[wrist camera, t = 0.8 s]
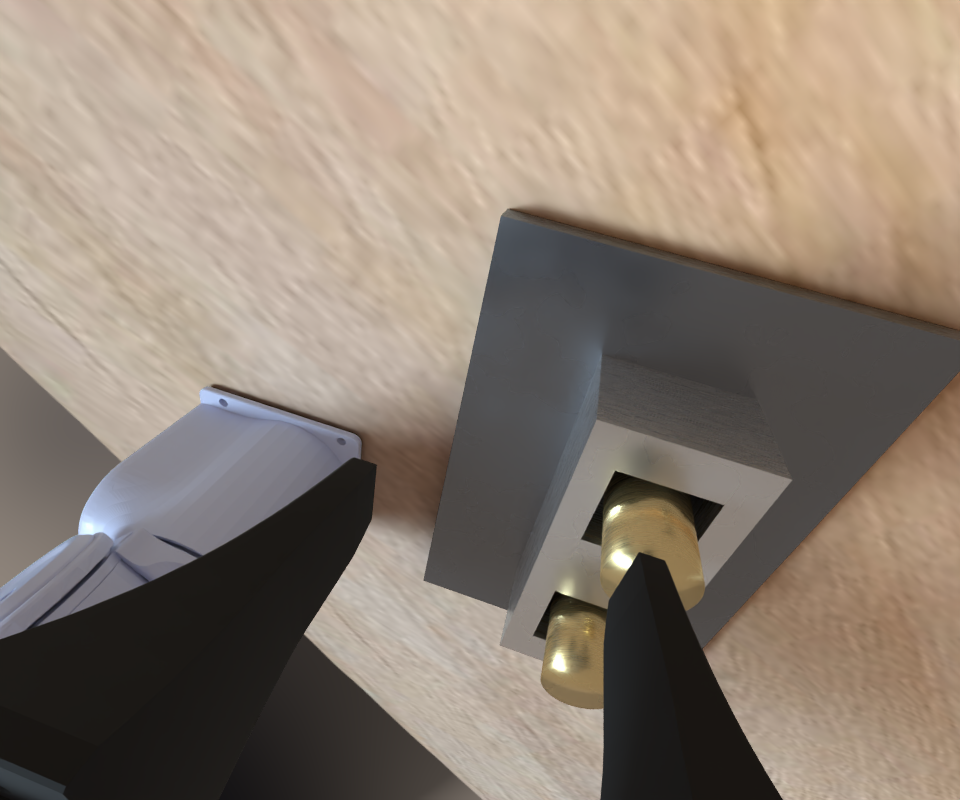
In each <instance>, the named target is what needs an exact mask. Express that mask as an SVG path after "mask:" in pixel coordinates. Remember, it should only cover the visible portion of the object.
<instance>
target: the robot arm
mask: <svg viewBox="0 0 960 800" xmlns="http://www.w3.org/2000/svg"><path fill="white" fill-rule="evenodd" d="M200 399H201V404H199V405H198V406H197V407H195V408H194V409H193V410H191V411H190V412H189V413H187V414H186V415H184V416H183V417H182V418H180V419H179V420H178V421H176V422H175V423H174V424H172V425H171V426H170V427H168V428H167V429H165V430H164V431H163V432H161V433H160V434H159V435H157V436H156V437H155V438H153V439H152V440H151V441H149V442H148V443H147V444H145V445H144V446H142V447H141V448H140V449H138V450H137V451H136V452H134V453H133V454H132V455H130V456H129V457H128V458H126V459H125V460H124V461H122V462H121V463H119V464H118V465H117V466H116V467H115V468H114V469H112V470H111V471H110V472H109V473H108V474H107V475H106V476H105V477H104V478H103V480H102V481H101V482H100V483H99V485H98V486H97V487H96V489H95V490H94V492H93V493H92V495H91V496H90V498H89V499H88V501H87V503H86V505H85V507H84V509H83V512H82V514H81V518H80V523H79V531H78V532H79V534H78V535H76V536H73V537H72V538H70V539H68V540H66V541H65V542H63V543H62V544H60V545H59V546H57V547H56V548H54V549H53V550H51V551H50V552H48V553H47V554H45V555H44V556H43V557H42V558H40V559H39V560H37V561H36V562H34V563H33V564H32V565H30V566H29V567H28V568H26V569H25V570H23V571H22V572H21V573H19V574H18V575H17V576H15V577H14V578H13V579H12V580H10V581H9V582H8V583H6V584H5V585H4V586H2V587H1V588H0V800H219V798H220V796H221V793H222V791H223V789H224V787H225V785H226V783H227V781H228V779H229V777H230V775H231V773H232V771H233V769H234V766H235V764H236V762H237V760H238V758H239V756H240V754H241V752H242V750H243V748H244V746H245V744H246V742H247V740H248V738H249V736H250V734H251V732H252V730H253V728H254V726H255V724H256V722H257V720H258V718H259V716H260V714H261V712H262V710H263V708H264V706H265V704H266V702H267V700H268V698H269V696H270V694H271V692H272V691H273V689H274V686H275V685H276V683H277V681H278V679H279V677H280V675H281V673H282V671H283V669H284V668H285V665H286V664H287V662H288V660H289V658H290V656H291V654H292V653H293V651H294V649H295V647H296V646H297V644H298V642H299V641H300V639H301V637H302V636H303V634H304V632H305V631H306V629H307V628H308V626H309V625H310V623H311V622H312V620H313V618H314V617H315V615H316V614H317V612H318V611H319V609H320V608H321V606H322V604H323V603H324V601H325V600H326V598H327V597H328V595H329V594H330V592H331V591H332V589H333V587H334V586H335V584H336V583H337V581H338V580H339V578H340V576H341V575H342V573H343V572H344V570H345V569H346V567H347V565H348V564H349V562H350V561H351V559H352V557H353V556H354V554H355V552H356V550H357V548H358V546H359V544H360V542H361V540H362V538H363V536H364V534H365V532H366V530H367V528H368V526H369V523H370V521H371V519H372V509H373V499H374V488H375V477H376V466H377V465H376V464H373V463H370V462H367V461H364V460H361V446H362V443H361V439H360V438H359V437H358V436H357V435H355V434H353V433H350V432H347V431H344V430H341V429H338V428H335V427H332V426H329V425H326V424H323V423H319V422H316V421H313V420H310V419H307V418H304V417H301V416H298V415H295V414H292V413H289V412H286V411H283V410H280V409H277V408H274V407H271V406H267V405H264V404H261V403H258V402H255V401H252V400H249V399H246V398H243V397H240V396H237V395H234V394H231V393H228V392H225V391H222V390H219V389H216V388H212V387H208V386H207V387H204V388H203V389H201V391H200ZM341 438H343V439H344V440H345V441H344V440H342V439H341ZM603 702H604V753H603V776H602V788H601V799H600V800H783V799H782V798H781V796H780V794H779V793H778V791H777V789H776V788H775V786H774V785H773V783H772V781H771V780H770V778H769V776H768V775H767V773H766V771H765V770H764V768H763V766H762V764H761V763H760V761H759V759H758V757H757V756H756V754H755V752H754V751H753V749H752V747H751V745H750V744H749V742H748V740H747V738H746V736H745V734H744V733H743V731H742V729H741V727H740V725H739V723H738V721H737V720H736V718H735V716H734V714H733V712H732V710H731V708H730V706H729V704H728V702H727V700H726V698H725V696H724V694H723V692H722V690H721V688H720V686H719V684H718V682H717V680H716V678H715V676H714V674H713V672H712V670H711V667H710V665H709V663H708V661H707V659H706V656H705V654H704V652H703V650H702V648H701V645H700V643H699V641H698V639H697V636H696V634H695V632H694V630H693V627H692V625H691V623H690V620H689V618H688V615H687V613H686V611H685V608H684V606H683V603H682V601H681V598H680V596H679V593H678V591H677V588H676V586H675V583H674V581H673V578H672V576H671V573H670V571H669V568H668V566H667V564H666V562H665V560H662V559H659V558H656V557H653V556H650V555H647V554H644V553H641V552H639V553H638V554H637V556H636V558H635V559H634V561H633V562H632V564H631V566H630V567H629V569H628V570H627V572H626V574H625V575H624V577H623V578H622V580H621V581H620V583H619V585H618V586H617V588H616V589H615V591H614V593H613V594H612V596H611V597H610V599H609V601H608V609H607V617H606V625H605V635H604V648H603Z"/></svg>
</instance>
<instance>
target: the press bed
mask: <svg viewBox="0 0 960 800" xmlns="http://www.w3.org/2000/svg"><path fill="white" fill-rule="evenodd" d="M601 355H606V356H609V357H612V358H616V359H619V360H623V361H626V362H629V363H633V364H636V365H640V366H643V367H646V368H650V369H653V370H657V371H660V372H663V373H667V374H670V375H674V376H677V377H680V378H684V379H687V380H691V381H694V382H697V383H701V384H704V385H708V386H711V387H714V388H718V389H721V390H724V391H728V392H731V393H735V394H738V395H741V396H745V397H748V398H752V399H755V400H758V402H759V404H760V407H761V409H762V411H763V414H764V416H765V418H766V420H767V423H768V425H769V427H770V430H771V432H772V434H773V436H774V439H775V441H776V443H777V446H778V448H779V450H780V453H781V455H782V457H783V459H784V462H785V464H786V466H787V469H788V471H789V473H790V475H791V478H792V481H791V482H790V484H789V485H788V486H787V487H786V488H785V490H784V491H783V492H782V493H781V495H780V496H779V497H778V498H777V500H776V501H775V502H774V503H773V504H772V506H771V507H770V508H769V509H768V511H767V512H766V513H765V514H764V516H763V517H762V518H761V519H760V520H759V522H758V523H757V524H756V525H755V527H754V528H753V529H752V530H751V532H750V533H749V534H748V535H747V536H746V538H745V539H744V540H743V541H742V543H741V544H740V545H739V546H738V548H737V549H736V550H735V551H734V552H733V554H732V555H731V556H730V557H729V559H728V560H727V561H726V562H725V564H724V565H723V566H722V567H721V568H720V570H719V571H718V572H717V573H716V575H715V576H714V577H713V578H712V580H711V581H710V582H709V583H708V584H707V586H706V587H705V592H704V595H703V597H702V599H701V600H700V601H699V602H698V603H697V604H696V605H695V606H694V607H692V608H691V609H689V610H687V611H686V613H687V615H688V618H689V620H690V623H691V625H692V627H693V630H694V632H695V634H696V636H697V639H698V641H699V643H700V645H701V648H702V649H703V647H704V646H705V645H706V644H707V643H708V642H709V641H710V640H711V639H712V638H713V637H714V636H715V635H716V633H717V632H718V631H719V630H720V629H721V628H722V627H723V626H724V625H725V624H726V623H727V622H728V621H729V619H730V618H731V617H732V616H733V615H734V614H735V613H736V612H737V611H738V610H739V609H740V608H741V606H742V605H743V604H744V603H745V602H746V601H747V600H748V599H749V598H750V597H751V596H752V595H753V594H754V592H755V591H756V590H757V589H758V588H759V587H760V586H761V585H762V584H763V583H764V582H765V581H766V580H767V578H768V577H769V576H770V575H771V574H772V573H773V572H774V571H775V570H776V569H777V568H778V567H779V566H780V564H781V563H782V562H783V561H784V560H785V559H786V558H787V557H788V556H789V555H790V554H791V553H792V551H793V550H794V549H795V548H796V547H797V546H798V545H799V544H800V543H801V542H802V541H803V540H804V539H805V537H806V536H807V535H808V534H809V533H810V532H811V531H812V530H813V529H814V528H815V527H816V526H817V525H818V523H819V522H820V521H821V520H822V519H823V518H824V517H825V516H826V515H827V514H828V513H829V512H830V511H831V509H832V508H833V507H834V506H835V505H836V504H837V503H838V502H839V501H840V500H841V499H842V498H843V496H844V495H845V494H846V493H847V492H848V491H849V490H850V489H851V488H852V487H853V486H854V485H855V484H856V482H857V481H858V480H859V479H860V478H861V477H862V476H863V475H864V474H865V473H866V472H867V471H868V470H869V468H870V467H871V466H872V465H873V464H874V463H875V462H876V461H877V460H878V459H879V458H880V457H881V456H882V454H883V453H884V452H885V451H886V450H887V449H888V448H889V447H890V446H891V445H892V444H893V443H894V441H895V440H896V439H897V438H898V437H899V436H900V435H901V434H902V433H903V432H904V431H905V430H906V429H907V427H908V426H909V425H910V424H911V423H912V422H913V421H914V420H915V419H916V418H917V417H918V416H919V415H920V413H921V412H922V411H923V410H924V409H925V408H926V407H927V406H928V405H929V404H930V403H931V402H932V400H933V399H934V398H935V397H936V396H937V395H938V394H939V393H940V392H941V391H942V390H943V389H944V388H945V386H946V385H947V384H948V383H949V382H950V381H951V380H952V379H953V378H954V377H955V376H956V375H957V374H958V372H959V371H960V331H958V330H955V329H951V328H947V327H944V326H940V325H936V324H932V323H929V322H925V321H921V320H918V319H914V318H910V317H907V316H903V315H899V314H895V313H892V312H888V311H884V310H881V309H877V308H873V307H870V306H866V305H862V304H858V303H855V302H851V301H847V300H844V299H840V298H836V297H833V296H829V295H825V294H821V293H818V292H814V291H810V290H807V289H803V288H799V287H796V286H792V285H788V284H784V283H781V282H777V281H773V280H770V279H766V278H762V277H759V276H755V275H751V274H747V273H744V272H740V271H736V270H733V269H729V268H725V267H721V266H718V265H714V264H710V263H707V262H703V261H699V260H696V259H692V258H688V257H684V256H681V255H677V254H673V253H670V252H666V251H662V250H659V249H655V248H651V247H647V246H644V245H640V244H636V243H633V242H629V241H625V240H622V239H618V238H614V237H610V236H607V235H603V234H599V233H596V232H592V231H588V230H585V229H581V228H577V227H573V226H570V225H566V224H562V223H559V222H555V221H551V220H548V219H544V218H540V217H536V216H533V215H529V214H525V213H522V212H518V211H514V210H511V209H507V210H506V211H505V212H504V213H503V214H502V215H501V218H500V223H499V228H498V233H497V237H496V242H495V247H494V251H493V256H492V261H491V265H490V270H489V275H488V279H487V284H486V289H485V294H484V298H483V303H482V308H481V312H480V317H479V322H478V326H477V331H476V336H475V341H474V345H473V350H472V355H471V359H470V364H469V369H468V373H467V378H466V383H465V388H464V392H463V397H462V402H461V406H460V411H459V416H458V420H457V425H456V430H455V435H454V439H453V444H452V449H451V453H450V458H449V463H448V467H447V472H446V477H445V482H444V486H443V491H442V496H441V500H440V505H439V510H438V514H437V519H436V524H435V529H434V533H433V538H432V543H431V547H430V552H429V557H428V561H427V566H426V571H425V576H424V581H427V582H429V583H432V584H435V585H438V586H441V587H444V588H446V589H449V590H452V591H455V592H458V593H461V594H463V595H466V596H469V597H472V598H475V599H478V600H480V601H483V602H486V603H489V604H492V605H495V606H497V607H500V608H503V609H506V610H508V606H509V601H510V597H511V592H512V588H513V583H514V579H515V574H516V570H517V567H518V564H519V562H520V559H521V557H522V554H523V552H524V549H525V547H526V544H527V542H528V539H529V537H530V534H531V532H532V529H533V526H534V524H535V521H536V519H537V516H538V514H539V511H540V509H541V506H542V504H543V501H544V499H545V496H546V494H547V491H548V489H549V486H550V484H551V481H552V479H553V476H554V474H555V471H556V469H557V466H558V464H559V461H560V459H561V456H562V454H563V451H564V449H565V446H566V443H567V441H568V438H569V436H570V433H571V431H572V428H573V426H574V423H575V421H576V418H577V416H578V413H579V411H580V408H581V406H582V403H583V401H584V398H585V396H586V393H587V391H588V388H589V386H590V383H591V381H592V378H593V376H594V373H595V371H596V368H597V366H598V363H599V361H600V358H601Z"/></svg>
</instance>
